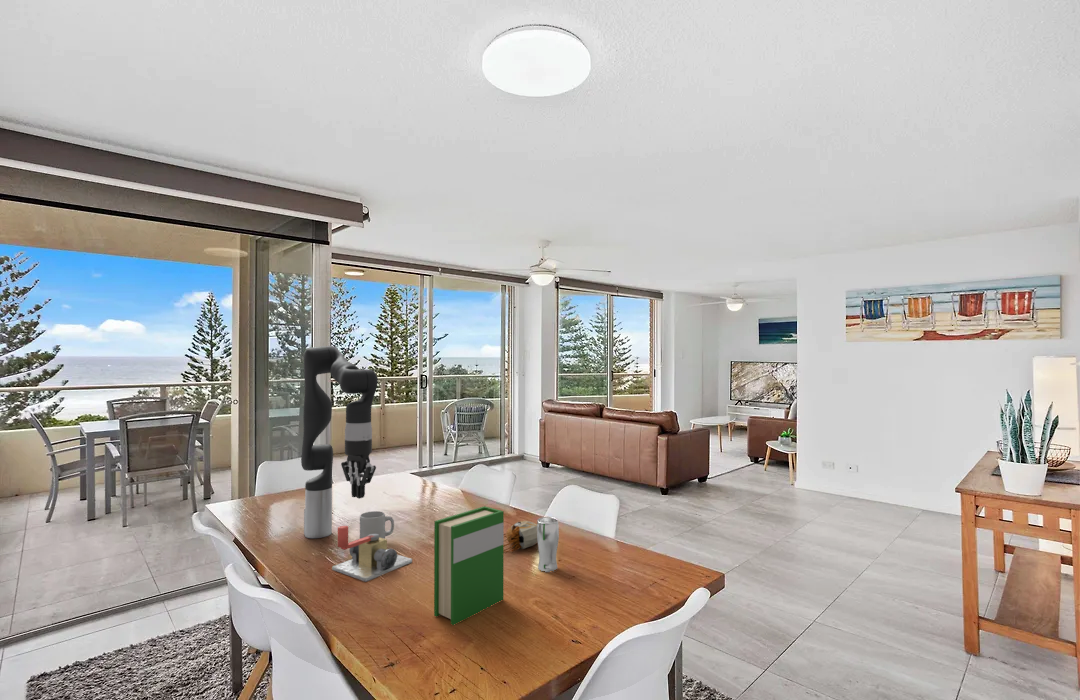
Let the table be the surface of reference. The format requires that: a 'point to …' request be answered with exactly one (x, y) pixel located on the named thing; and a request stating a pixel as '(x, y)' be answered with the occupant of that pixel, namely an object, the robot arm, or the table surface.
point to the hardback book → (468, 562)
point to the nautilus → (521, 535)
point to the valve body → (371, 560)
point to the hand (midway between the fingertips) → (358, 497)
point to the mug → (375, 524)
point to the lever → (344, 541)
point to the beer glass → (547, 543)
